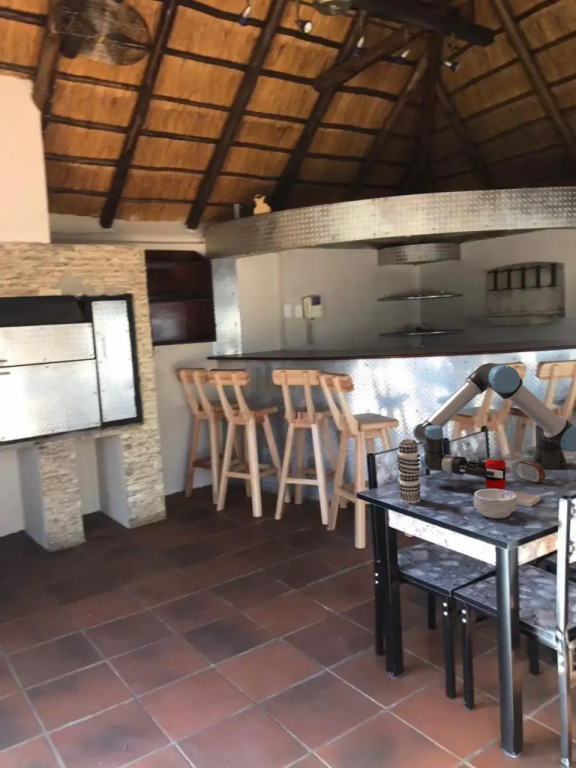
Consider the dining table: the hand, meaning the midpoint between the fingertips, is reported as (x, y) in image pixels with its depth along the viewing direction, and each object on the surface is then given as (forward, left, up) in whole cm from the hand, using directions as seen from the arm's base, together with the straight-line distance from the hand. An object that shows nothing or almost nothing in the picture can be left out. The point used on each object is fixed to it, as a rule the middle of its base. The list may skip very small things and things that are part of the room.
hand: (507, 472), depth 243 cm
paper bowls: (+6, +19, -11) cm, 23 cm away
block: (+1, -1, -10) cm, 10 cm away
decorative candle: (+38, +4, -11) cm, 40 cm away
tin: (-12, -26, -11) cm, 31 cm away
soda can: (+4, -2, -7) cm, 9 cm away
